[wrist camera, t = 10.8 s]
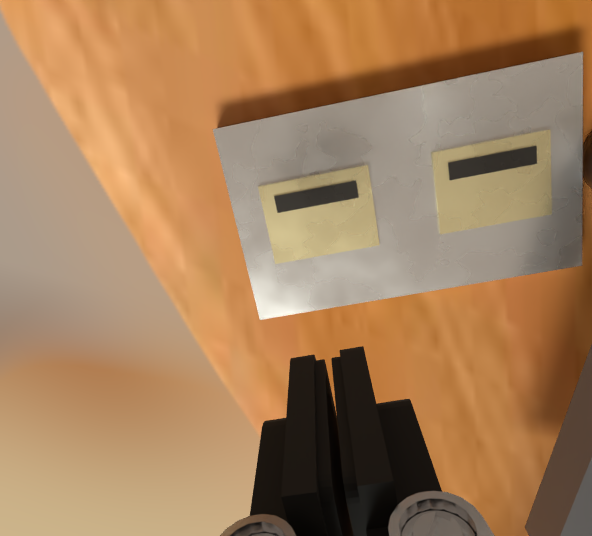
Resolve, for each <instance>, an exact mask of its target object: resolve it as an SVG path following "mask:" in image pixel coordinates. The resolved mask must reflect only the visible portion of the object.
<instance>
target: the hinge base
mask: <svg viewBox="0 0 592 536" xmlns="http://www.w3.org/2000/svg"><path fill="white" fill-rule="evenodd" d="M582 175H583V178H584V180H585V181H586V183H587V184H588V185H589V186H590V187H591V188H592V131H591V133H590V134H589V136H588V137H587V139H586V141H585V143H584V145H583V170H582Z"/></svg>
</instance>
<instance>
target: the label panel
mask: <svg viewBox="0 0 592 536" xmlns="http://www.w3.org/2000/svg"><path fill="white" fill-rule="evenodd" d="M213 132H214V136H215V140H216V144H217V148H218V152H219V156H220V160H221V164H222V168H223V172H224V176H225V180H226V184H227V188H228V192H229V196H230V200H231V204H232V208H233V213H234V217H235V221H236V225H237V229H238V233H239V237H240V241H241V245H242V249H243V253H244V257H245V261H246V265H247V269H248V273H249V277H250V281H251V285H252V289H253V293H254V297H255V301H256V305H257V309H258V313H259V318H260V320H262V319H268V318H274V317H280V316H286V315H291V314H297V313H303V312H309V311H315V310H321V309H327V308H333V307H339V306H345V305H351V304H357V303H363V302H369V301H374V300H380V299H386V298H392V297H398V296H404V295H410V294H416V293H422V292H428V291H434V290H440V289H446V288H452V287H457V286H463V285H469V284H475V283H481V282H487V281H493V280H499V279H505V278H511V277H517V276H523V275H529V274H535V273H540V272H546V271H552V270H558V269H564V268H570V267H576V266H582V170H583V52H579V53H574V54H569V55H564V56H559V57H554V58H550V59H545V60H540V61H535V62H531V63H526V64H521V65H516V66H511V67H507V68H502V69H497V70H492V71H488V72H483V73H478V74H473V75H469V76H464V77H459V78H454V79H449V80H445V81H440V82H435V83H430V84H426V85H421V86H416V87H411V88H407V89H402V90H397V91H392V92H387V93H383V94H378V95H373V96H368V97H364V98H359V99H354V100H349V101H344V102H340V103H335V104H330V105H325V106H321V107H316V108H311V109H306V110H302V111H297V112H292V113H287V114H282V115H278V116H273V117H268V118H263V119H259V120H254V121H249V122H244V123H239V124H235V125H230V126H225V127H220V128H216V129H213Z"/></svg>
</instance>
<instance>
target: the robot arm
mask: <svg viewBox="0 0 592 536" xmlns="http://www.w3.org/2000/svg"><path fill="white" fill-rule="evenodd" d="M332 369H333V380H334V390H335V401H336V411H335V406H334V402H333V397H332V392H331V387H330V383H329V378H328V373H327V368H326V364H325V360H324V359H323V360H317V361H316V358H315V355H308V356H302V357H296V358H291V360H290V372H289V387H288V402H287V417H286V418H282V419H276V420H269V421H265V422H264V423H263V426H262V432H261V440H260V447H259V454H258V462H257V468H256V475H255V483H254V490H253V497H252V504H251V511H250V516H248V517H246V518H244V519H241V520H239V521H237V522H235V523H234V524H233V525H231V526H230V527H228V528H227V529H226V530H225V531H224V532H223V533H222V534H221V535H220V536H494V534H493V533H492V531H491V529H490V528H489V526H488V525H487V523H486V521H485V520H484V518H483V517H482V515H481V514H480V513H479V512H478V511H477V510H476V508H475V507H474V506H473V505H472V504H470V503H469V502H467V501H466V500H464V499H463V498H461V497H459V496H456V495H453V494H450V493H448V492H442V490H441V487H440V485H439V482H438V479H437V476H436V473H435V470H434V467H433V464H432V461H431V458H430V455H429V453H428V450H427V447H426V444H425V441H424V438H423V435H422V432H421V429H420V426H419V424H418V421H417V418H416V415H415V412H414V409H413V406H412V403H411V401H410V399H404V400H398V401H391V402H385V403H378V404H376V401H375V396H374V392H373V388H372V383H371V379H370V374H369V370H368V366H367V361H366V357H365V352H364V348H363V346H362V347H356V348H350V349H344V350H340V357H335V358H332ZM336 412H337V416H336Z"/></svg>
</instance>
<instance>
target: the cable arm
mask: <svg viewBox="0 0 592 536" xmlns="http://www.w3.org/2000/svg"><path fill="white" fill-rule="evenodd" d="M525 528H526V530H527V532H528V534H529V536H592V345H591V348H590V350H589V353H588V356H587V359H586V361H585V364H584V367H583V370H582V372H581V375H580V378H579V381H578V383H577V386H576V389H575V391H574V394H573V397H572V400H571V402H570V405H569V408H568V411H567V413H566V416H565V419H564V422H563V424H562V427H561V430H560V432H559V435H558V438H557V441H556V443H555V446H554V449H553V452H552V454H551V457H550V460H549V463H548V465H547V468H546V471H545V474H544V476H543V479H542V482H541V484H540V487H539V490H538V493H537V495H536V498H535V501H534V504H533V506H532V509H531V512H530V515H529V517H528V520H527V523H526V525H525Z"/></svg>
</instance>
